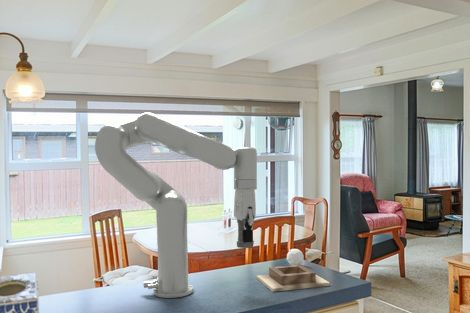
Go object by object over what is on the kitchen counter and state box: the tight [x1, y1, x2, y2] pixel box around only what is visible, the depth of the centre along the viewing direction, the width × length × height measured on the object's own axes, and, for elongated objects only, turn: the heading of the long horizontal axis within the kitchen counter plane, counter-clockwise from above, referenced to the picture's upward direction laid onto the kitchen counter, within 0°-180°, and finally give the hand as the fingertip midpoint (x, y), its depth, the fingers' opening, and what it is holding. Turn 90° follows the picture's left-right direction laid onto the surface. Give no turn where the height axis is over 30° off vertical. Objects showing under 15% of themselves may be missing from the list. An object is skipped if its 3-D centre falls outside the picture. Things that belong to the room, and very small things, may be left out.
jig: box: [256, 264, 331, 292], centre depth 146 cm, size 20×16×4 cm
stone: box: [236, 218, 255, 249], centre depth 141 cm, size 3×6×10 cm, turn 82°
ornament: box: [286, 248, 305, 265], centre depth 168 cm, size 6×7×7 cm
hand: (245, 240), depth 141 cm, fingers closed on stone, 4 cm apart
